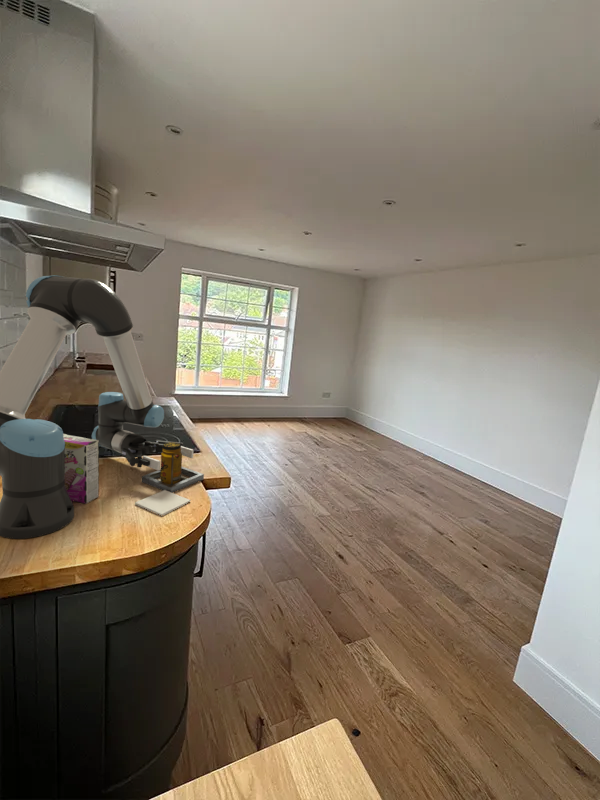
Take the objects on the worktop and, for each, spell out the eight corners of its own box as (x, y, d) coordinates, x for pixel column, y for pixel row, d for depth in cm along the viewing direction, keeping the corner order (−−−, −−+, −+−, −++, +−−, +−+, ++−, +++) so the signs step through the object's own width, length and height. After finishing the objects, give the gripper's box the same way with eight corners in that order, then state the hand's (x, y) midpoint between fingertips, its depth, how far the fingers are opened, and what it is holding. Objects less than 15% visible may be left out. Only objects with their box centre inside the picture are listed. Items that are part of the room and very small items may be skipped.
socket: (171, 493, 107) (171, 487, 107) (141, 481, 112) (141, 476, 112) (203, 479, 119) (203, 474, 118) (175, 469, 124) (175, 464, 124)
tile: (161, 516, 94) (161, 514, 94) (135, 504, 99) (135, 502, 99) (190, 502, 103) (190, 500, 103) (164, 491, 108) (164, 489, 108)
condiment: (154, 481, 114) (155, 443, 112) (176, 473, 121) (178, 438, 119) (169, 488, 110) (171, 450, 108) (192, 480, 117) (193, 444, 115)
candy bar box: (48, 497, 98) (47, 437, 95) (64, 490, 103) (62, 433, 100) (86, 505, 96) (85, 444, 93) (99, 497, 101) (99, 439, 98)
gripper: (159, 446, 136) (204, 460, 126) (94, 464, 114) (142, 483, 104) (160, 426, 134) (205, 439, 125) (94, 441, 112) (143, 458, 103)
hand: (176, 459), depth 115 cm, fingers open, 13 cm apart
